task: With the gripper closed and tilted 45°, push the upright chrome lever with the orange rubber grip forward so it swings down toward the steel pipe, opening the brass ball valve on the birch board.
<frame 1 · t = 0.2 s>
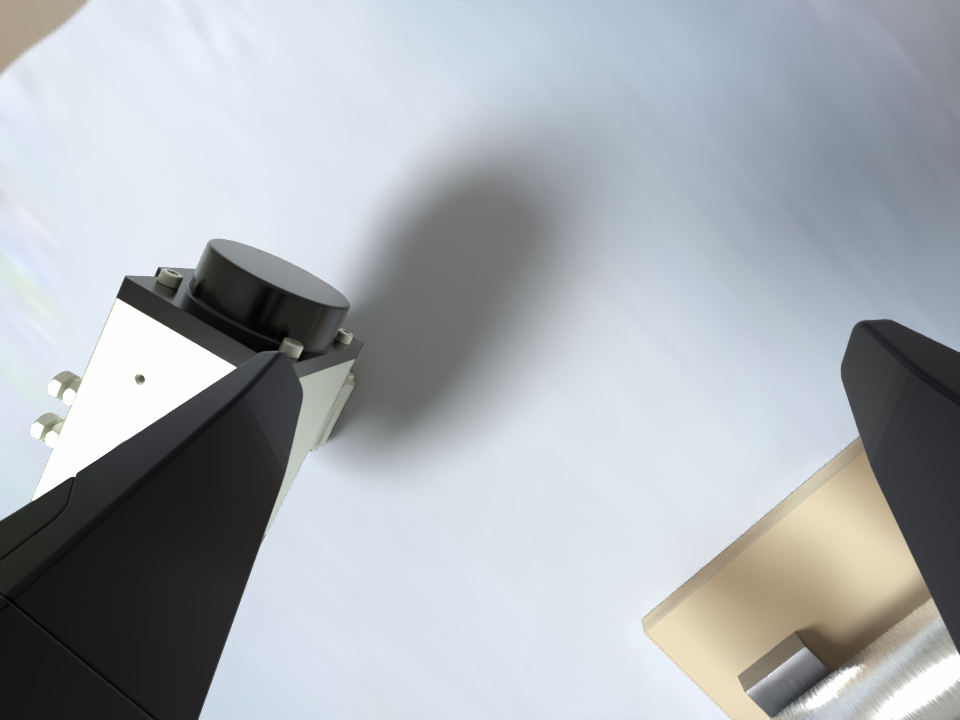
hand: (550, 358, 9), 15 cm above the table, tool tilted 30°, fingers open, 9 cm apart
pneumatic valve: (304, 388, 26), on the table
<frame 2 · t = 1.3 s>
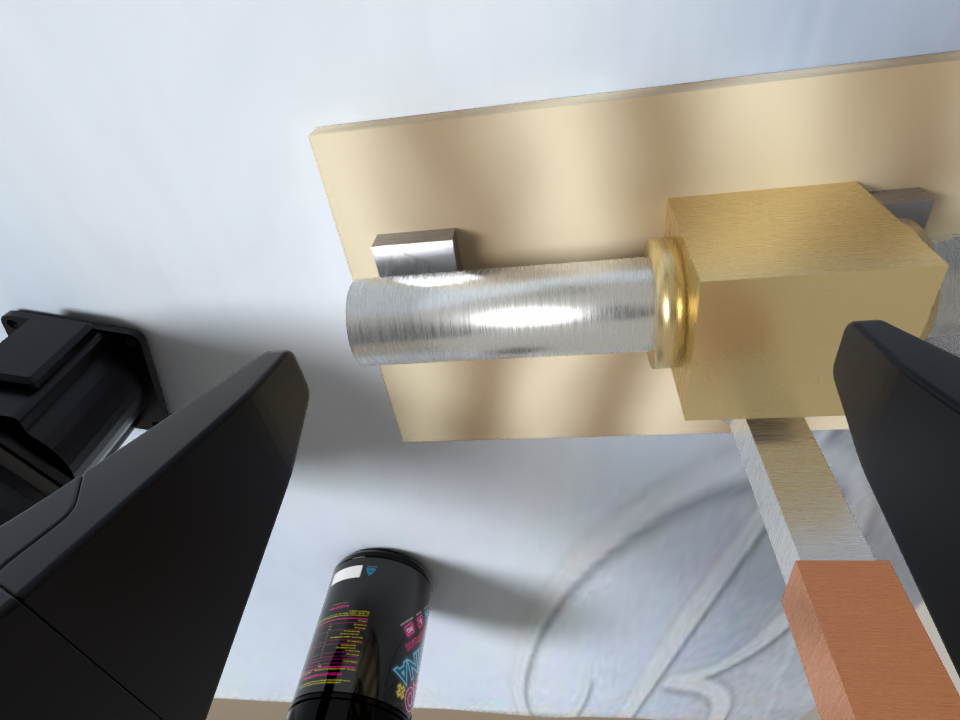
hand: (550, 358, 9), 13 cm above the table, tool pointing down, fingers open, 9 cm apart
supplement container: (385, 571, 39), on the table
mounting board: (727, 331, 24), on the table
valve lever: (801, 507, 17), point 9 cm above the table, hinge at 0.0°
valve pipe: (644, 308, 19), on the mounting board, point 4 cm above the table
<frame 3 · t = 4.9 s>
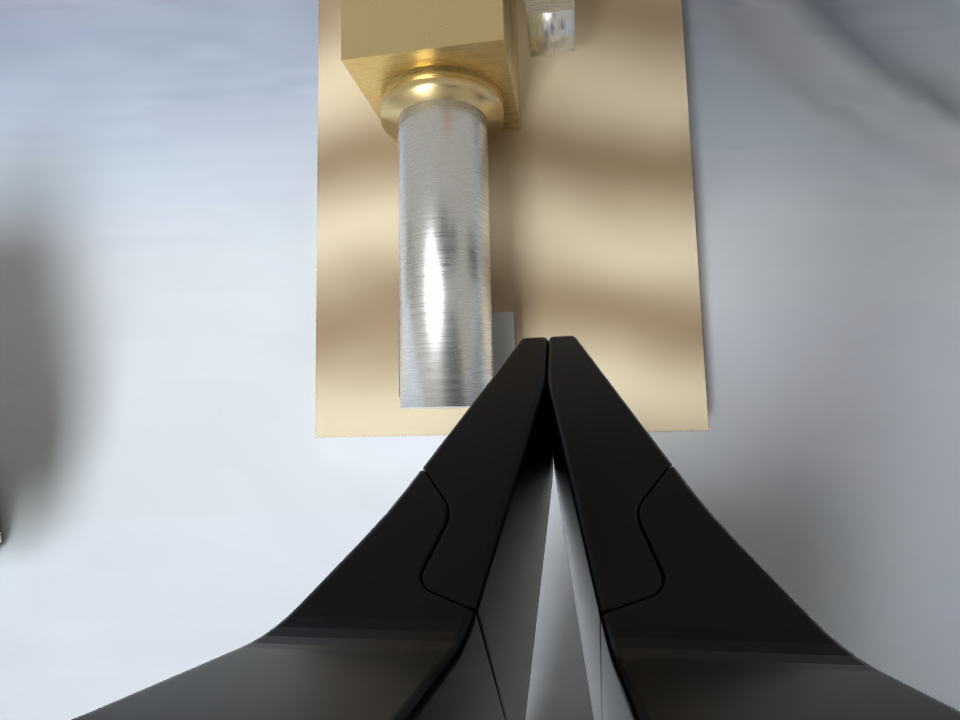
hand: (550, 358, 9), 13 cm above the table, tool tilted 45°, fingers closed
mounting board: (554, 70, 24), on the table
valve pipe: (441, 125, 20), on the mounting board, point 4 cm above the table
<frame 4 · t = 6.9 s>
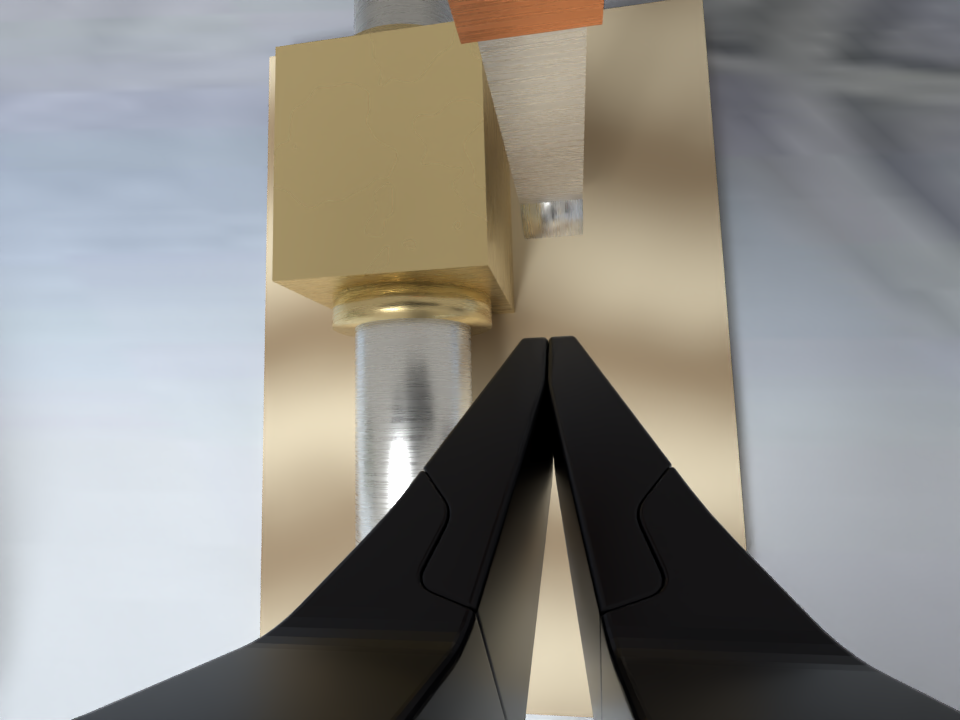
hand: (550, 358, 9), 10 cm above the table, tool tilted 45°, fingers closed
mounting board: (555, 229, 19), on the table
valve lever: (538, 65, 11), point 9 cm above the table, hinge at 0.0°
valve pipe: (411, 334, 16), on the mounting board, point 4 cm above the table
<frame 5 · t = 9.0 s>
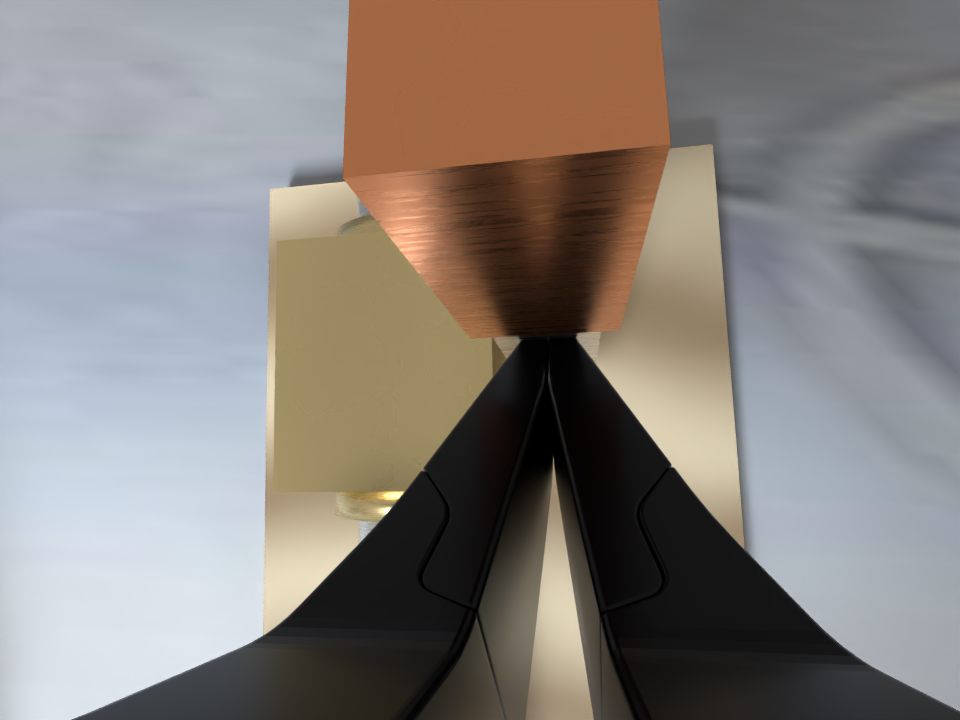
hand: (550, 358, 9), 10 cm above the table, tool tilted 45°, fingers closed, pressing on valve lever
mounting board: (562, 375, 19), on the table
valve lever: (549, 306, 10), point 9 cm above the table, hinge at 5.0°, touching gripper
valve pipe: (416, 517, 15), on the mounting board, point 4 cm above the table
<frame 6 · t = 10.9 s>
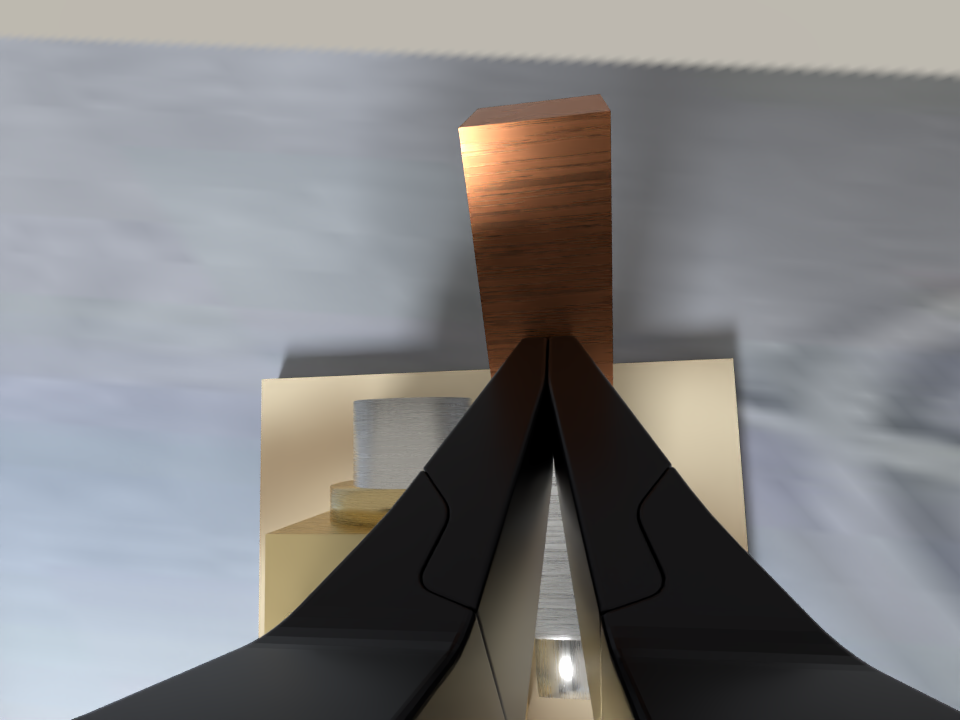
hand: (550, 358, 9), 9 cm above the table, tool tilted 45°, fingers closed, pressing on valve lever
mounting board: (572, 592, 18), on the table
valve lever: (559, 466, 12), point 7 cm above the table, hinge at 54.4°, touching gripper
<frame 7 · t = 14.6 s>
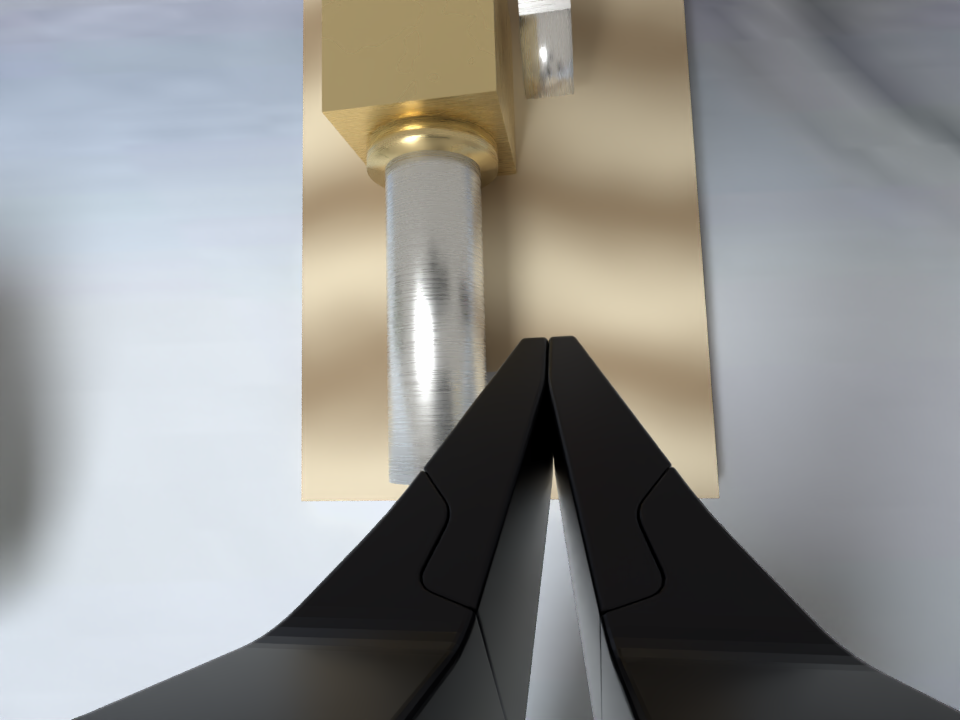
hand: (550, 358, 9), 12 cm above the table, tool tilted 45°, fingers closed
mounting board: (551, 108, 23), on the table
valve pipe: (431, 175, 19), on the mounting board, point 4 cm above the table
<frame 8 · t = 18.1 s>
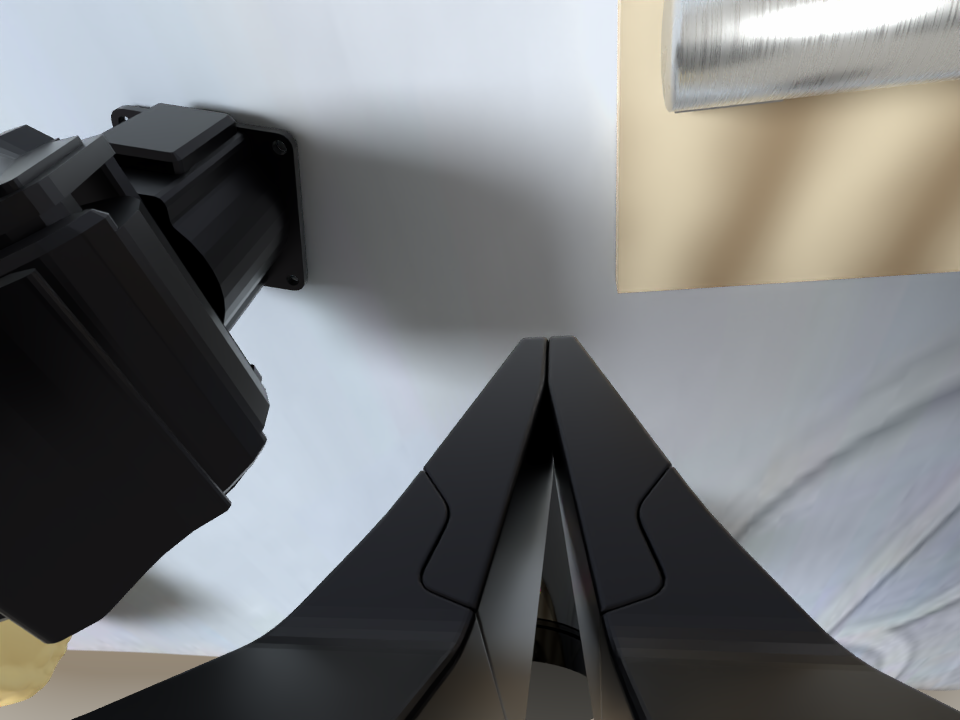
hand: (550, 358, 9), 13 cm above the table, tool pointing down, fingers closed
supplement container: (531, 492, 32), on the table
sculpture: (23, 553, 42), on the table
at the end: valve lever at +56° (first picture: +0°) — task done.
